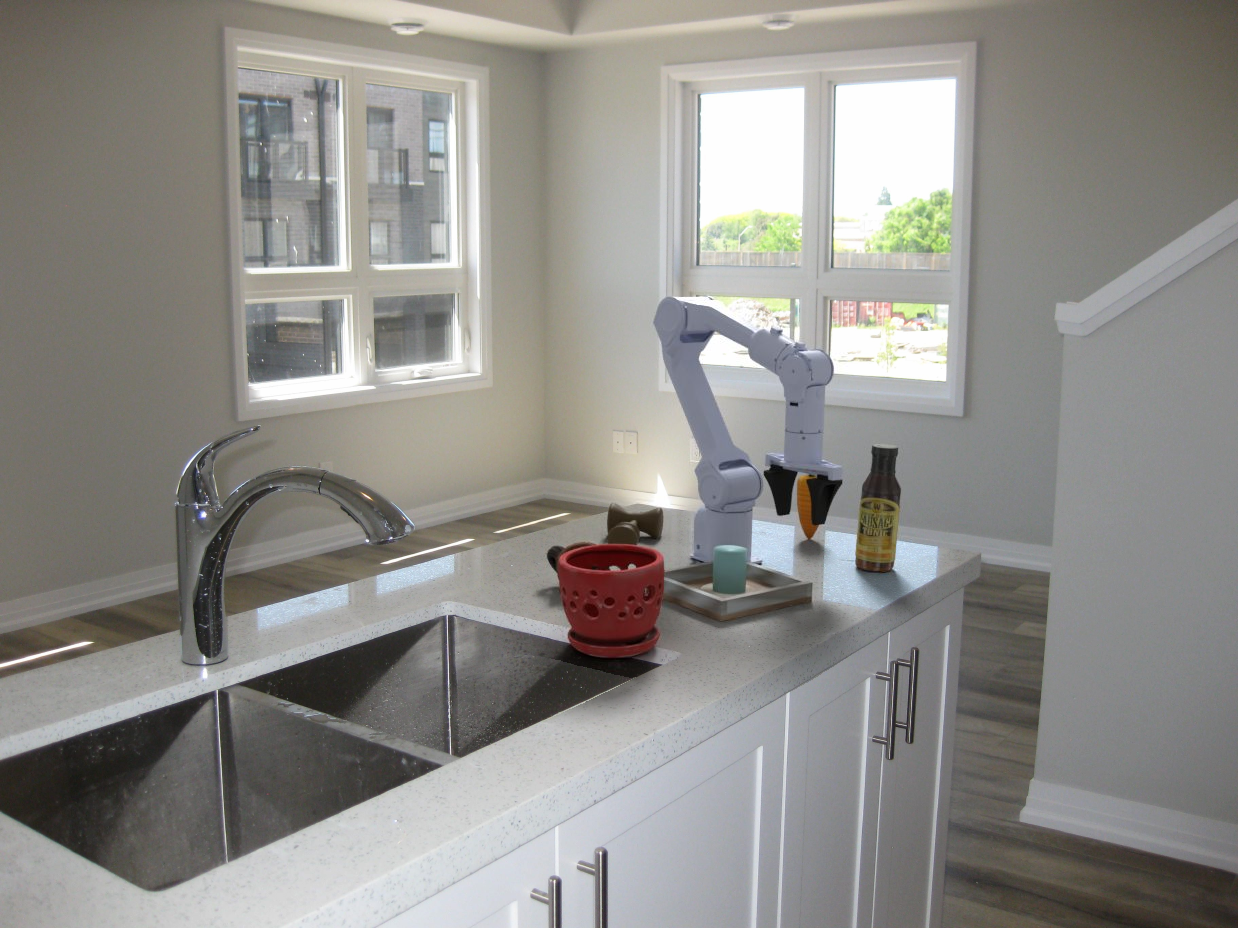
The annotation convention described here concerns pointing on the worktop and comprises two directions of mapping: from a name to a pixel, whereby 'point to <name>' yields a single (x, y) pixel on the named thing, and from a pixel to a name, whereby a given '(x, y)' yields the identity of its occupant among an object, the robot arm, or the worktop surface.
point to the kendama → (632, 524)
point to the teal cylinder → (729, 569)
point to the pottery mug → (558, 551)
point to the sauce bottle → (879, 512)
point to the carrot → (805, 506)
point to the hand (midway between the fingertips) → (800, 519)
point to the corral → (760, 596)
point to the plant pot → (612, 598)
